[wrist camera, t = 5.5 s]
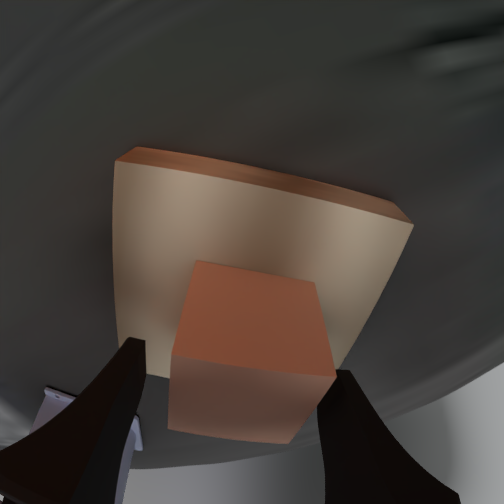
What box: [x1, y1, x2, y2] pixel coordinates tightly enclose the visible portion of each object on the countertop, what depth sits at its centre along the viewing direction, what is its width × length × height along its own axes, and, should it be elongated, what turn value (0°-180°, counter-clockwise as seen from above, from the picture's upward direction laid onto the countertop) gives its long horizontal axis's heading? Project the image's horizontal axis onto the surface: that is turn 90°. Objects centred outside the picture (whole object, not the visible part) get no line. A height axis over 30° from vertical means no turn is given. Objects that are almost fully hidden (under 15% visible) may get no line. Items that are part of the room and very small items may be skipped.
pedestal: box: [113, 147, 414, 378], centre depth 16 cm, size 12×12×3 cm
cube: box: [168, 260, 337, 444], centre depth 12 cm, size 5×5×5 cm
